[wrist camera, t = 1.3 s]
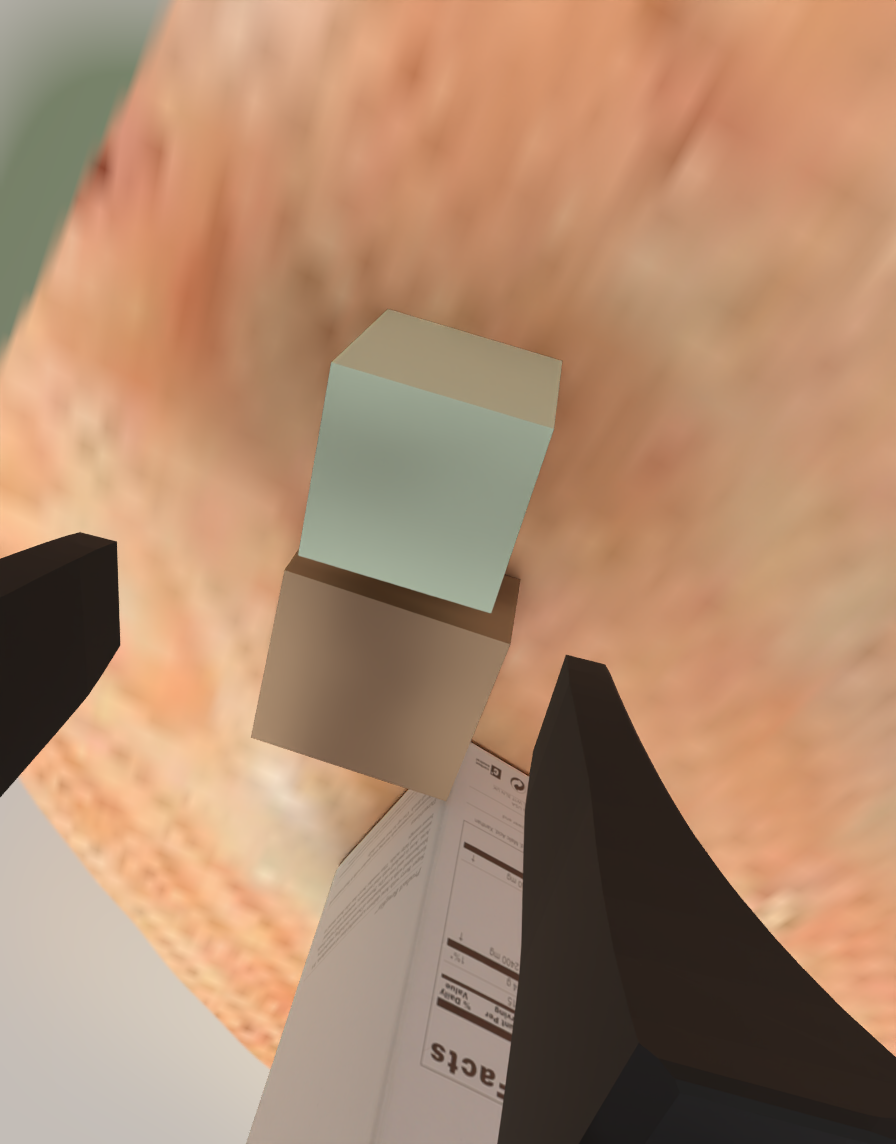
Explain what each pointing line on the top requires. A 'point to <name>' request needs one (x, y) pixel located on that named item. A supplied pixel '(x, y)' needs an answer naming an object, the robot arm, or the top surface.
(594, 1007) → the robot arm
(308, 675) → the walnut block
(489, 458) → the sage block
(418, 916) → the supplement box
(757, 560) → the top surface
